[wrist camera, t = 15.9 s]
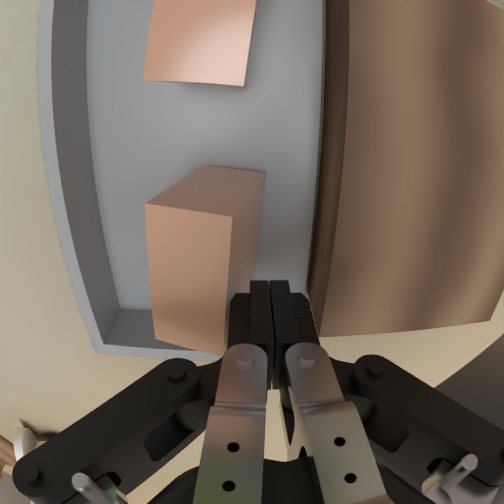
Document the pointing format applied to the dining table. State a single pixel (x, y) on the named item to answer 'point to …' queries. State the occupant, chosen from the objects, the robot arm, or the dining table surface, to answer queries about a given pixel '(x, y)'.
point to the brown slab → (410, 167)
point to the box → (169, 150)
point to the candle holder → (6, 454)
